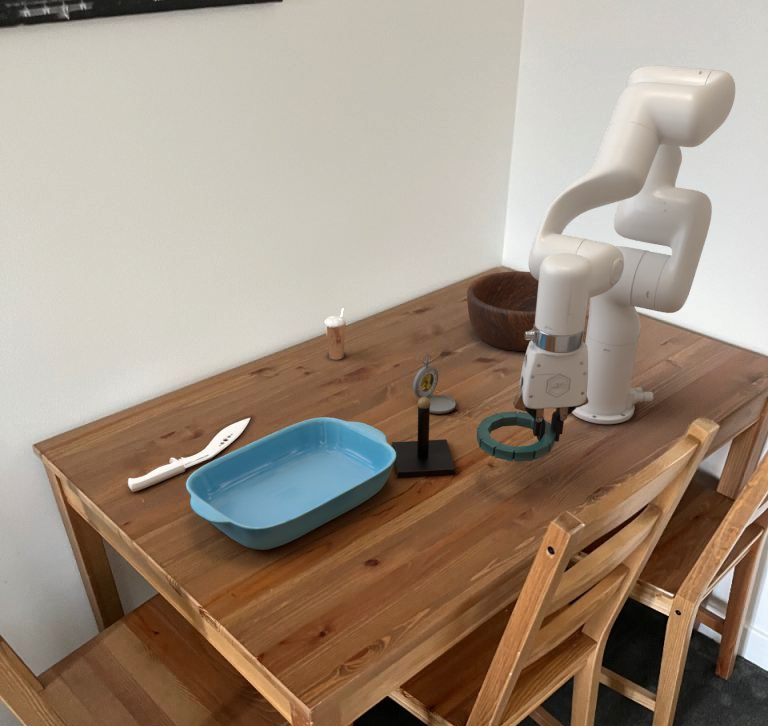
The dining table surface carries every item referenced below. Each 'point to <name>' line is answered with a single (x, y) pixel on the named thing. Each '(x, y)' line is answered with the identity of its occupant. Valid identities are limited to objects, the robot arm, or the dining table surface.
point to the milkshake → (335, 336)
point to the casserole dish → (291, 481)
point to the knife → (189, 458)
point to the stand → (423, 450)
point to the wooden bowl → (503, 308)
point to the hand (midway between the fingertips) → (546, 437)
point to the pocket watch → (431, 389)
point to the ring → (513, 452)
